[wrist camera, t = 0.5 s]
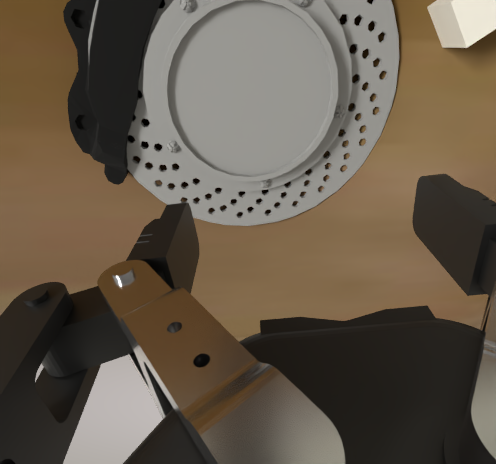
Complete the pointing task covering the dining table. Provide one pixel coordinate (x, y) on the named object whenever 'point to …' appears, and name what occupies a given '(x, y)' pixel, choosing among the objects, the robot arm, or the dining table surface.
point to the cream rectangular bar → (462, 21)
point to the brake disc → (231, 97)
